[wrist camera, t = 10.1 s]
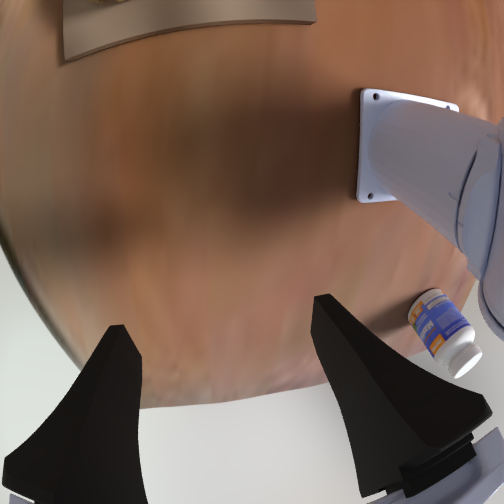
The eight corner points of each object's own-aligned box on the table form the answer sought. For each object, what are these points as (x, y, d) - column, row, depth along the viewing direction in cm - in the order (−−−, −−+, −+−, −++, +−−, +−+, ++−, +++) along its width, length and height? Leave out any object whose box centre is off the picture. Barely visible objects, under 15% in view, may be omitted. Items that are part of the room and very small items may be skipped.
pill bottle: (407, 300, 26) (454, 369, 18) (443, 279, 26) (493, 339, 18) (405, 328, 29) (443, 390, 21) (439, 308, 29) (479, 364, 21)
